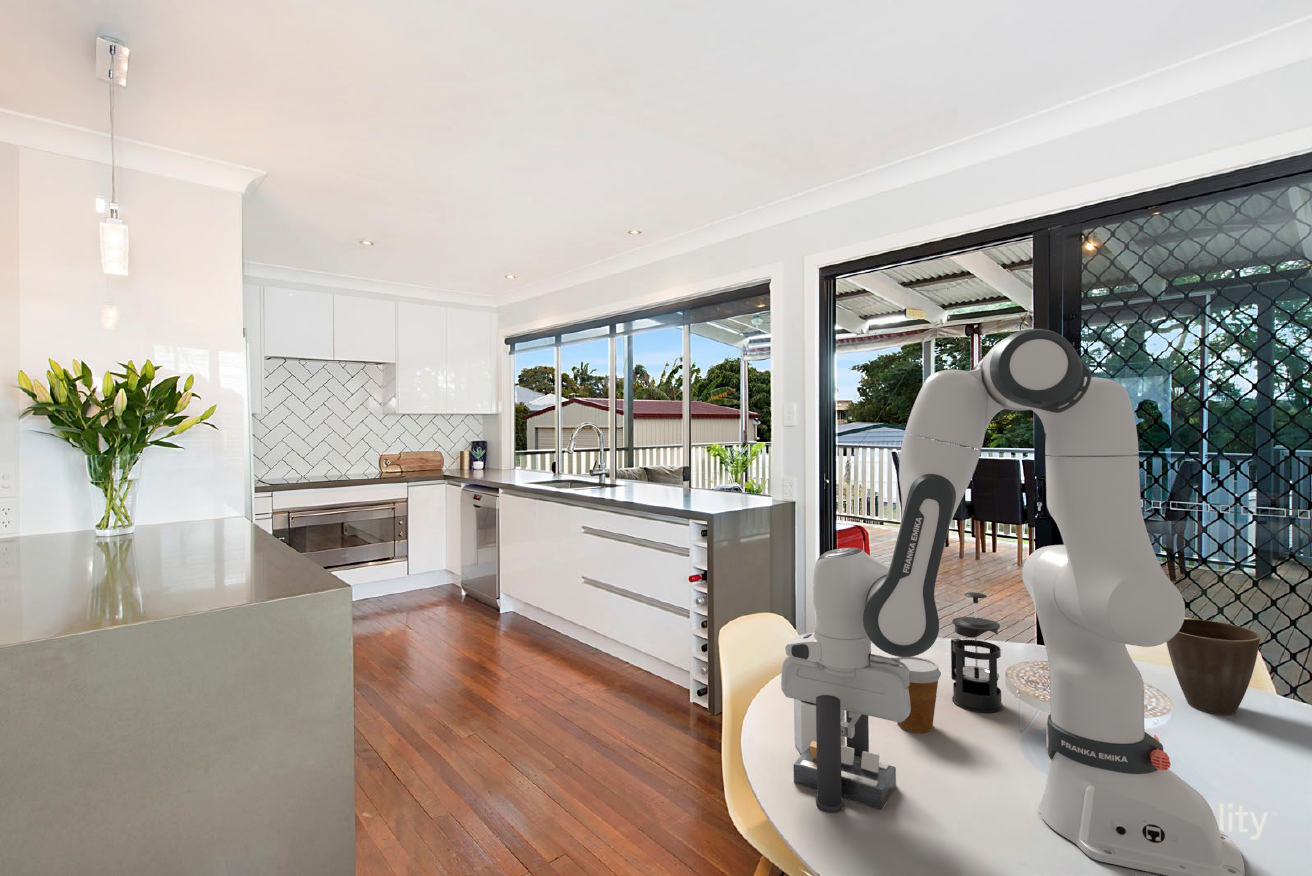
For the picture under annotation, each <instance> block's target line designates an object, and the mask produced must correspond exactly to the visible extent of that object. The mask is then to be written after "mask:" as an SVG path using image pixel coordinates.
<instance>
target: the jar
mask: <svg viewBox="0 0 1312 876" xmlns="http://www.w3.org/2000/svg"><path fill="white" fill-rule="evenodd" d="M840 711H841V721H844V722H846V718H845V717H846V716H845V715H846V712H845V710H841V709H840ZM793 713H794V714H793V715H794V716H793V717H794V718H793V719H794V721H793V724H794V725H793V726H794V727H793V728H794V734H793V735H794V745H795V747H796V748H797V750H798V751H799V753H800V756H801V755H802V754H803V753H804V752H805V751H806V750H807V749H808V748H809V747H810V744H811V742H812V741H816V704H815V703H811V702H806V701H802V700H797V699H793ZM841 745H843V746H846V737H844V736H841Z"/></svg>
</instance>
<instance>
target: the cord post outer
mask: <svg viewBox="0 0 1312 876" xmlns="http://www.w3.org/2000/svg"><path fill="white" fill-rule="evenodd" d="M816 742H817V791H816V796H815V804H816V807H817V809H819V810H821V811H822V812H826V813H829V814H830V813H832V814H833V813H834V814H835V813H839V812H841V811H842V810H843V809H844V798H842V780H841V711H840V699H839V698H837V697H835V696H831V695H820V696H818V697H816Z"/></svg>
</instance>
